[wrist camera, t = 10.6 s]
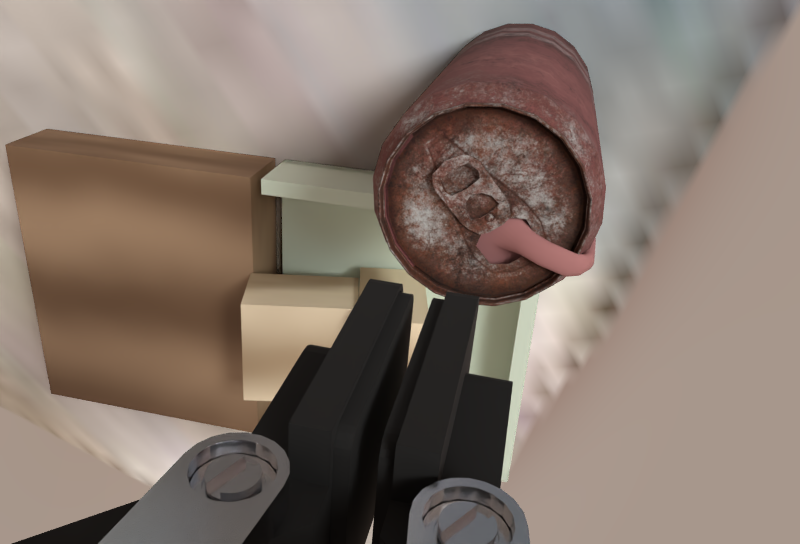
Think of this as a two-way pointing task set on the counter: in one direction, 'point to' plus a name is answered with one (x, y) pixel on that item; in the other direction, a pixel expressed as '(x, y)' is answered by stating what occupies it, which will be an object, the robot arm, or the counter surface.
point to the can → (496, 170)
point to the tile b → (408, 287)
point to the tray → (384, 263)
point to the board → (144, 269)
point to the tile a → (288, 324)
